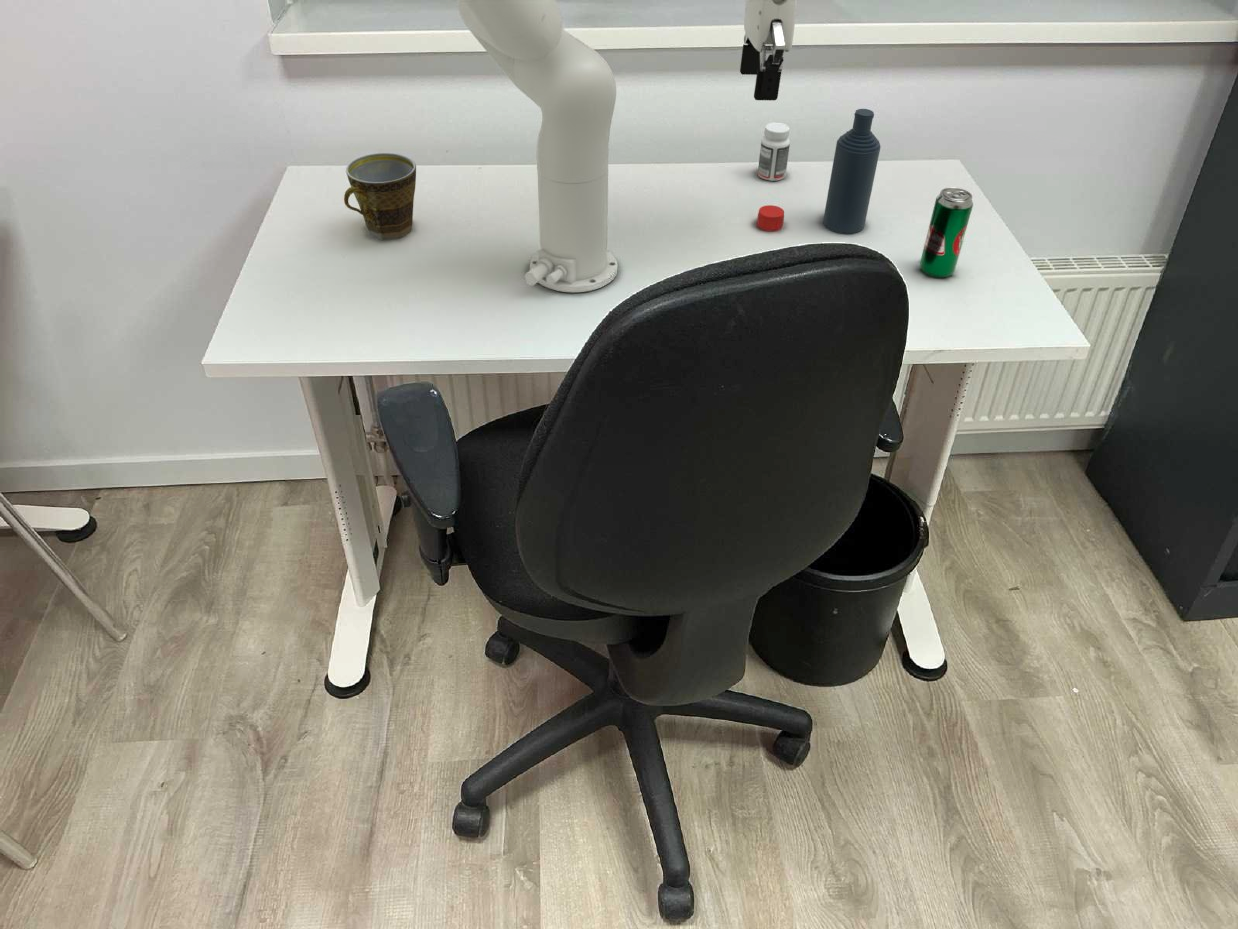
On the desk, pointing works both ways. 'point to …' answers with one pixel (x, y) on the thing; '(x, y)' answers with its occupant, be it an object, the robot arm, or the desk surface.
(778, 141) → the pill bottle
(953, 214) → the soda can
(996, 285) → the desk surface
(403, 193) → the ceramic cup
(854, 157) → the bottle
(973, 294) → the desk surface
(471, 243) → the desk surface
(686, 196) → the desk surface
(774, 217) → the cap
